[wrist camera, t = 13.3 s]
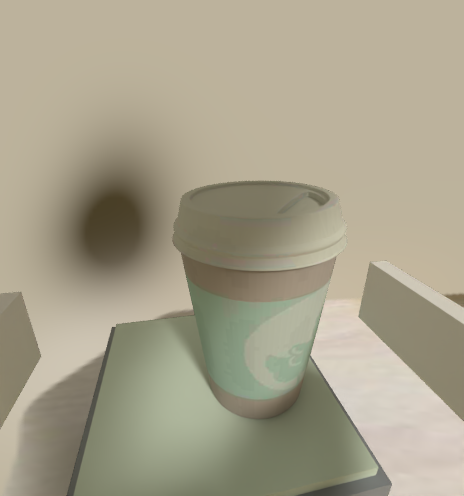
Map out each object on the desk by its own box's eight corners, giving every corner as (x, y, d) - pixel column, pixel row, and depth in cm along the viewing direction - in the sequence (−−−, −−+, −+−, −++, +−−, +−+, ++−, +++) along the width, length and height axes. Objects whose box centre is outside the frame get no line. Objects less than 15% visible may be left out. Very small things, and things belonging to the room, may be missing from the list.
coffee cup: (232, 481, 13) (223, 239, 9) (169, 361, 20) (146, 190, 15) (354, 396, 17) (396, 199, 12) (268, 320, 24) (273, 174, 19)
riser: (274, 371, 30) (280, 301, 27) (361, 567, 17) (394, 476, 13) (124, 395, 27) (111, 321, 24) (85, 657, 14) (40, 569, 11)
